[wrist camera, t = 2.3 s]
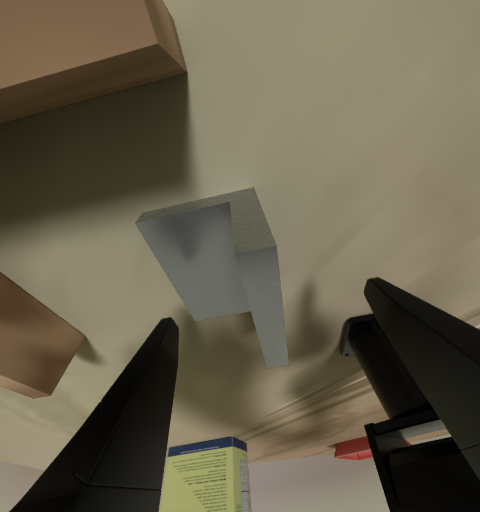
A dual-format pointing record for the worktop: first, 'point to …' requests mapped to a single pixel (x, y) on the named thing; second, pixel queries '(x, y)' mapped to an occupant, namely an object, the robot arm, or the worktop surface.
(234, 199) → the bracket
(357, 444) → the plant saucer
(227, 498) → the protein box
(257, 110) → the worktop surface
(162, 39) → the wooden corner frame
